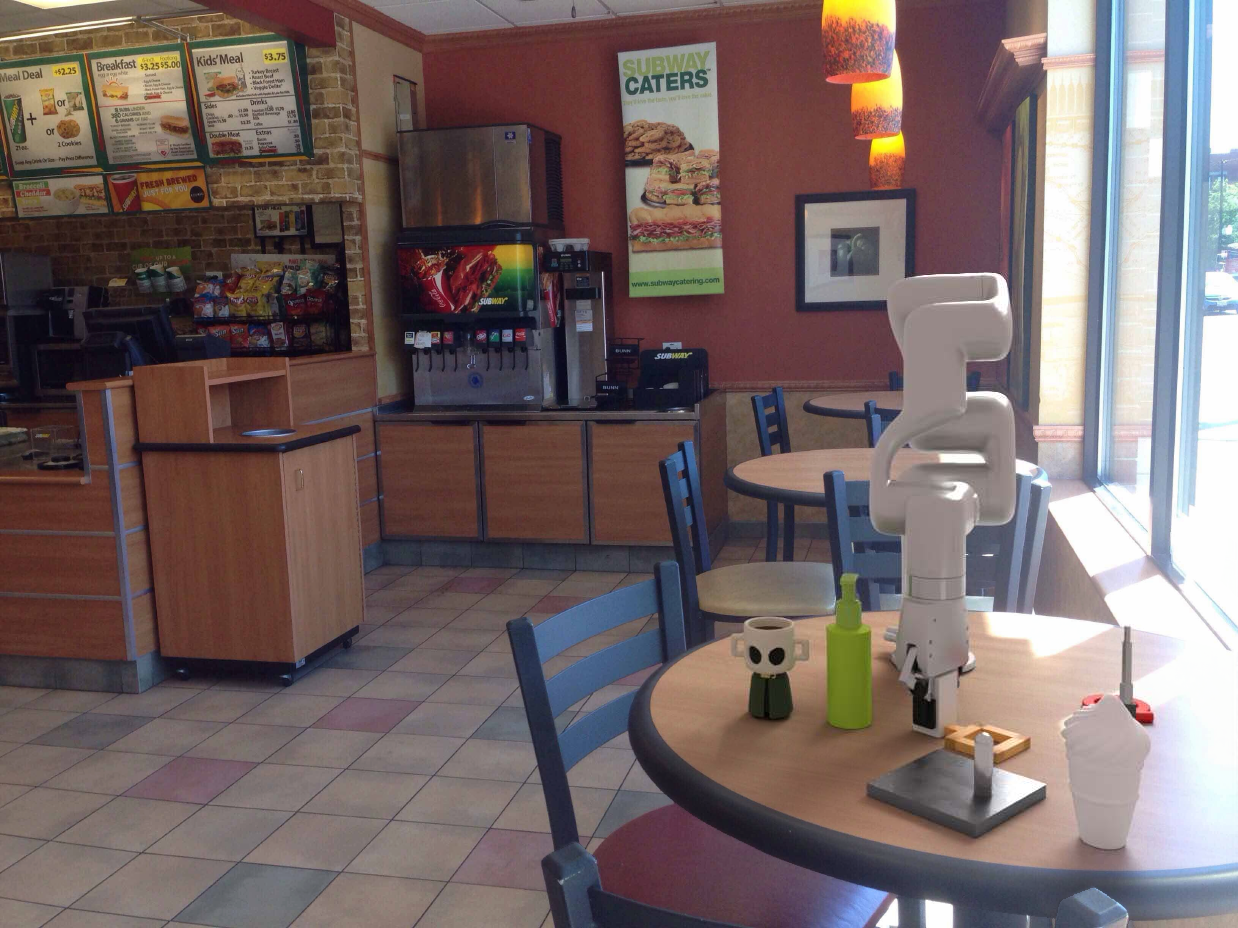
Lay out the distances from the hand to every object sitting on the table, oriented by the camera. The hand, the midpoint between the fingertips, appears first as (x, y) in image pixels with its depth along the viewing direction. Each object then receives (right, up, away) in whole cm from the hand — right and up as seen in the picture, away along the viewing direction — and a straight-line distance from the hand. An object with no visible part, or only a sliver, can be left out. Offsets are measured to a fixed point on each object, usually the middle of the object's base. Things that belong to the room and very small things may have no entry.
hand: (934, 720), depth 140 cm
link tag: (+3, -2, -3) cm, 5 cm away
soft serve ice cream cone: (+8, -5, -30) cm, 32 cm away
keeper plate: (-3, -4, -19) cm, 20 cm away
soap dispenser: (-10, -1, +5) cm, 11 cm away
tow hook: (+26, 0, +5) cm, 26 cm away
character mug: (-21, -1, +8) cm, 22 cm away
